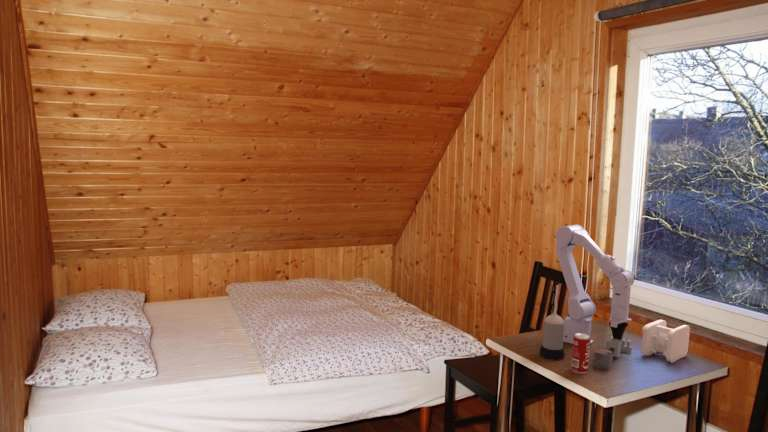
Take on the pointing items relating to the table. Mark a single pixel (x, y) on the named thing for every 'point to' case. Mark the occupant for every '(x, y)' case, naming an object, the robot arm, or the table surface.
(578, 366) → the soda can
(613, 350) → the dark grey rod
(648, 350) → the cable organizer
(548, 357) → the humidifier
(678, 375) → the table surface
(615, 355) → the grey slotted cube
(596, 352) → the block
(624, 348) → the cable comb
